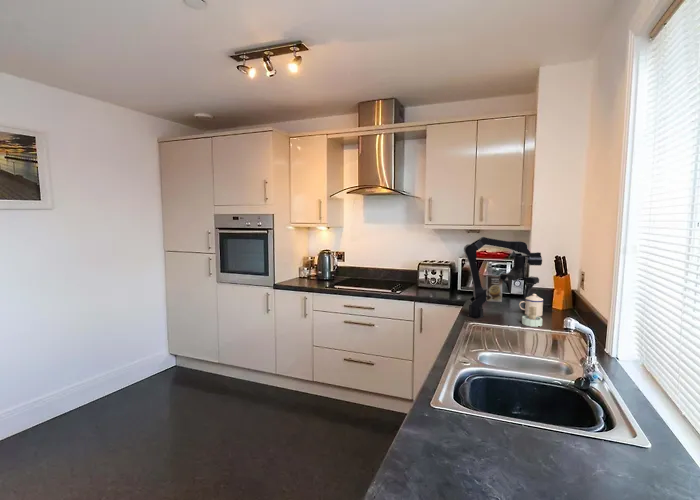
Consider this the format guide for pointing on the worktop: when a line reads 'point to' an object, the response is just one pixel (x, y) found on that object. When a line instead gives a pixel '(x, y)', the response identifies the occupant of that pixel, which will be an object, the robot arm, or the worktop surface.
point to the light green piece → (531, 321)
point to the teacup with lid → (533, 304)
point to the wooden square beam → (532, 312)
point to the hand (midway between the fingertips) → (518, 294)
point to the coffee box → (493, 288)
